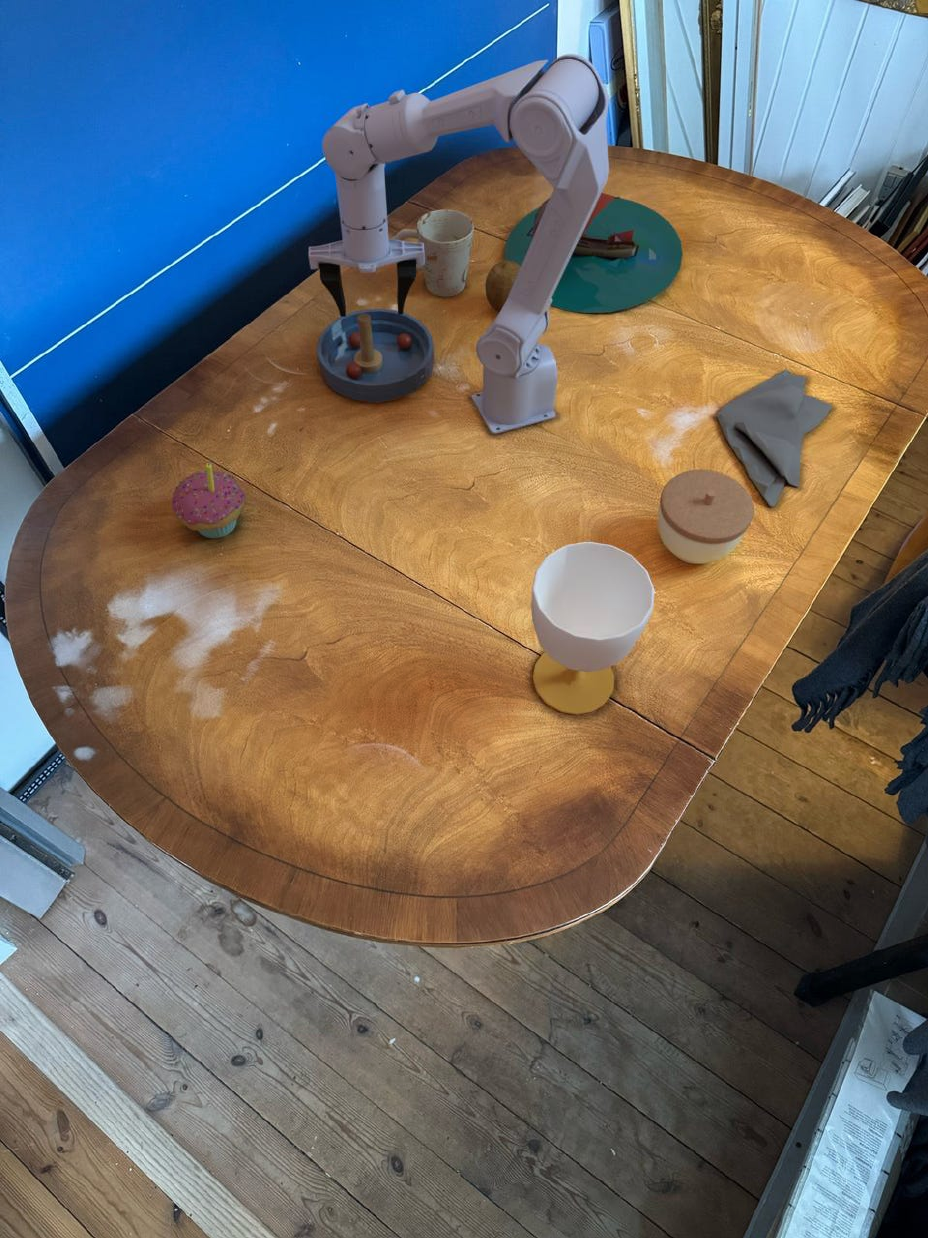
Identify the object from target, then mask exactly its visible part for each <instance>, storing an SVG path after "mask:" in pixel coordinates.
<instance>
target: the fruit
mask: <svg viewBox="0 0 928 1238" xmlns="http://www.w3.org/2000/svg"><path fill="white" fill-rule="evenodd" d="M520 268H521V267H520V266H519V264H517V263H515V262H513V261H505V260H501V261H498V262H496V263H494V265H493V266H492V267H491V269H490V271H489V272H488V274H487V275H486V279H485V297H486V300H487V302H488V303H489V305H490V306H491V308H492V309H493V310H495V311H496V312H498V313H500V311H501V309H502V307H503V306H504V304H505V302H506V300H507V298H508V296H509V294H510V291H511V289H512V287H513V284H514V282H515V280H516V277H517V275H518V273H519V270H520Z"/></svg>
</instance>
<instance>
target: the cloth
mask: <svg viewBox="0 0 928 1238" xmlns="http://www.w3.org/2000/svg"><path fill="white" fill-rule="evenodd" d="M806 381H807V378H806V377H805V376H802V375H797V374H792V373H791V371H789V370H788V369H787V368H785V369H784V370H781V371H780V372H778V373H777V374H775V375H773V376H772V377H770V378H769V379H766V380H764V381H761V382H760V383H759V384H757V385H755V386H753V387H752V388H750V389H748V390H746V391H744V392H743V393H741V394H739V395H738V396H736V398H734V399H732V400H731V401H729V402H727V403H725V404H724V405H723V406H722V407H721V408H720V410H719V412H718V414H717V415H716V418H717V420H718V423H719V425H720V427H721V430H722V433H723V436H724V438H725V440H726V442H727V443H728V444H729V446H730V447H731V449H732V450H733V452H734V454H735V455H736V457H737V458H738V460H739V462H741V463H742V464H743V466H744V467H745V470H746V472H747V474H748V477H749V479H750V480H751V481H752V483H753V484H754V485H755V487H756V489H757V490H758V492H759V494H760V495H761V496H762V497H763V499H764V500H765V502H766V503H767V505H768V506H769V508H775V507H776V504H777V503H778V501H779V499H780V497H781V494H782V491H783V489H784V486H785V483H786V482H787V483H788V484H789V485H791V486H793V487H795V488H797V489H798V488H799V486H800V475H801V473H800V472H801V460H802V459H801V458H802V449H803V441H802V440H803V439H804V437H805V435H806V434H808V433H810V432H811V431H813V430H814V429H815V428H816V427H818V425H820V424H821V423H822V421H824V419H825V418H826V417H827V415H828V414H829V413H830V411H831V410H832V408H833V406H832V405H831V404H830V403H827V402H825V401H823V400H821V399H819V398H817V397H814V396H812V395H807V394H805V387H806V383H807V382H806Z"/></svg>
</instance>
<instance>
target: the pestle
mask: <svg viewBox="0 0 928 1238" xmlns="http://www.w3.org/2000/svg"><path fill="white" fill-rule="evenodd" d="M357 319H358V328H359V338H360V348H361V350H360V351H358V352H357V353H356V354H355V356H354V363H356V364H358V365H359V366H360V367H361V369H362V373H365V374H371V373H375V372H377V371H379V370H380V369H381V368H382V365H383V362H382V355H381V353H380V352H379V351H377V350H375V349H374V348H373V337H372V326H371V316H370V315H369V314H367V313H362V314H360V315H358V317H357Z"/></svg>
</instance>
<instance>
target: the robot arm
mask: <svg viewBox="0 0 928 1238" xmlns="http://www.w3.org/2000/svg"><path fill="white" fill-rule="evenodd" d="M548 62H549V59H543V60H536V61H533V62H531V63H528V64H526V65H523V66H521V67H518V68H516V69H513V70H510V71H507V72H505V73H502V74H500V75H497V76H495V77H491V78H488V79H486V80H483V81H481V82H478V83H476V84H473V85H471V86H468V87H465V88H463V89H460V90H457V91H454V92H452V93H450V94H447V95H444V96H441V97H438V98H435V99H433V100H430V99H429V98H428V97H426V96H425V95H424V94H422V93H420V92H413V93H410V94H406V93H405V90H404V89H400V90H397V91H394V92H393V93H392V94H391V95H390V96H389V97H388V100H387V101H385V102H381V103H378V104H375V105H372V106H370V105H369V104H368V103H363V104H361V105H356V106H353V107H351V108H350V109H349V110H348V111H347V112H346V113H345V114H343V116H342V117H340V118H339V119H338V120H337V121H336V122H335V123H334V124H332V126H331V127H329V129H328V130H327V131H326V133H325V134H324V136H323V138H322V141H321V147H322V154H323V157H324V159H325V161H326V163H327V165H328V166H329V168H331V170H332V171H333V172H334V175H335V183H336V185H335V186H336V191H337V192H336V193H337V201H338V210H339V218H340V227H341V236H342V237H341V238H342V239H341V240H338V241H335V242H334V241H333V242H329V243H325V244H322V245H316V246H308V262H309V270H318V269H319V280H320V282H321V284H322V285H323V287H324V288H325V289H326V290H327V291H328V292H329V294H330V295H331V297H332V299H333V301H334V302H335V304H336V307H337V309H338V311H339V316H340V317H346V315H347V307H346V298H345V293H344V287H343V281H342V271H341V266H343V267H348V268H355V269H358V272H359V273H361V274H372V273H375V272H376V271H377V268H381V267H384V266H388V265H392V264H396V271H397V272H396V273H397V274H396V275H397V290H396V291H397V293H396V294H397V295H396V301H397V302H396V303H397V311H398V314H403V313H404V310H405V304H406V300H407V296H408V295H409V292H410V290H411V288H412V287H413V284H414V282H415V281H416V278H417V275H418V271H417V270H416V265H422V266H423V265H425V254H424V243H419V242H412V241H406V240H403V241H401V240H395V239H394V238H390V237H389V226H388V225H389V224H388V210H387V209H388V208H387V195H386V193H387V191H386V178H385V167H386V164H388V163H391V162H395V161H400V160H403V159H406V158H410V157H414V156H418V155H422V154H425V153H429V152H430V151H432V150H433V149H434V147H435V146H436V143H438V142H437V141H438V138H439V137H441V136H445V135H450V134H456V133H461V132H464V131H470V130H474V129H478V128H484V127H488V126H494V127H495V129H496V130H497V132H498V133H499V135H500V136H501V138H502V140H504V142H506V143H507V144H509V143H510V142H511V141H512V140H514V142H515V144H516V145H517V147H518V148H519V149H520V151H521V152H522V153H523V155H524V156H525V157H526V158H527V159H528V161H530V163H531V164H532V165H533V166H534V167H535V169H536V170H538V172H539V173H540V174H541V175H542V177H543V178H544V179H545V180H546V181H547V182H548V184H550V186H551V187H552V188H553V189H552V193H551V195H550V197H549V198H550V199H549V198H548V199H549V202H548V204H547V206H546V209H545V211H544V213H543V216H542V218H541V220H540V223H539V225H538V228H537V230H536V232H535V235H534V237H533V239H532V242H531V244H530V246H529V249H528V251H527V254H526V256H525V258H524V261H523V263H522V265H521V268H520V270H519V273H518V275H517V277H516V280H515V282H514V284H513V287H512V289H511V291H510V294H509V296H508V298H507V300H506V302H505V304H504V306H503V307H502V309H501V311H500V312H498V314H497V315H496V316H495V318H494V320H493V321H492V323H491V324H490V325H489V327H488V328H487V329H486V330H485V332H484V333H483V334H481V336H480V337H479V339H478V340H477V342H476V346H475V349H476V350H475V351H476V356H477V359H478V360H479V362H480V363H481V364H482V366H483V369H482V391H480V392H475V393H473V394H471V401H472V402H473V404H474V406H475V408H476V409H477V411H478V413H479V414H480V416H481V418H482V420H483V421H484V424H485V425H486V426H487V429H488V430H489V431H490V434H492V435H498V434H501V433H504V432H508V431H513V430H517V429H520V428H523V427H527V426H530V425H534V424H538V423H542V422H545V421H549V420H553V419H555V418H556V415H557V414H556V412H555V410H554V409H555V400H556V394H557V385H558V368H557V362H556V359H555V356H554V354H553V351H552V350H551V348H550V347H549V345H546V344H539V342H540V339H541V338H542V336H543V335H544V334H545V333H546V331H548V328H549V325H550V307H551V303H552V298H551V297H552V295H553V293H554V291H555V289H556V287H557V285H558V283H559V281H560V279H561V276H562V274H563V272H564V270H565V268H566V266H567V264H568V262H569V260H570V258H571V256H572V253H573V251H574V249H575V247H576V245H577V243H578V241H579V239H580V237H581V235H582V233H583V231H584V228H585V226H586V224H587V222H588V220H589V218H590V216H591V214H592V212H593V210H594V208H595V206H596V203H597V201H598V199H599V197H600V195H601V193H603V191H604V189H605V187H606V184H607V183H608V179H609V175H610V162H609V145H608V131H607V129H608V128H607V118H608V111H609V105H610V95H609V94H608V91H607V89H606V87H605V85H604V83H603V81H602V79H601V76H600V74H599V71H597V70H598V69H596V67H595V65H594V64H593V63H592V62H590V60H588V59H587V58H585V57H583V56H582V55H578V54H575V53H574V54H573V53H569V54H568V53H567V54H563V55H561V56H558V57H557V58H554V59H553V61H552V62H551V63H550V64H549V66H548V67H547V68H546V70H545V71H544V70H543V68H544V67H545V66H546V64H547V63H548Z"/></svg>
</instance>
